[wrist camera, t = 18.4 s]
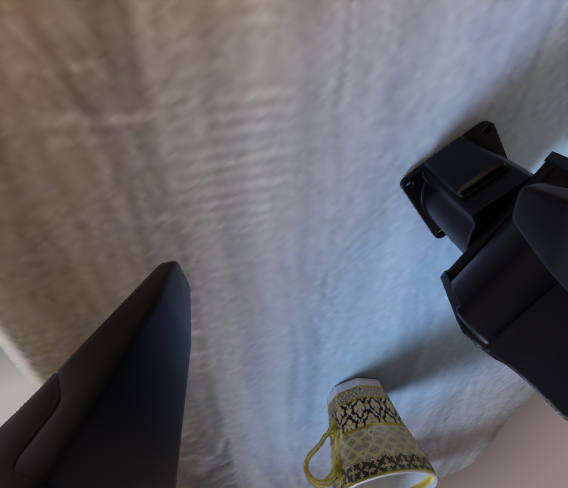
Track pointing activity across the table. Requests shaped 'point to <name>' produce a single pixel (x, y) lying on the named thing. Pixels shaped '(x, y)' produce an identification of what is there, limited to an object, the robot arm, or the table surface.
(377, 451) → the ceramic cup
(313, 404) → the table surface
